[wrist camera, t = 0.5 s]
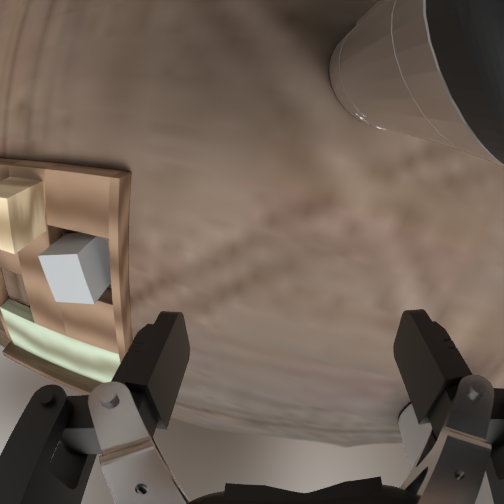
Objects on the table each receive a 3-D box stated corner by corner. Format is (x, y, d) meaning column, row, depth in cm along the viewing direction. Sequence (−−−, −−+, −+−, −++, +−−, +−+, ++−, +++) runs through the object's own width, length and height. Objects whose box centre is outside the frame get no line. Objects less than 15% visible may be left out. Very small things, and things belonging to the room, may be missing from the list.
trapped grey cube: (66, 233, 30) (38, 255, 25) (103, 230, 29) (76, 253, 24) (79, 275, 32) (55, 301, 27) (116, 275, 32) (94, 304, 27)
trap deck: (-18, 157, 25) (-44, 168, 21) (131, 172, 26) (105, 186, 22) (18, 337, 39) (4, 355, 35) (137, 383, 40) (126, 409, 36)
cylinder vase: (383, 426, 42) (405, 552, 20) (426, 382, 37) (470, 526, 15) (433, 426, 43) (460, 532, 21) (473, 384, 38) (519, 500, 15)
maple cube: (10, 176, 24) (-25, 192, 19) (43, 180, 24) (7, 198, 19) (14, 222, 26) (-17, 243, 22) (46, 230, 27) (14, 254, 22)
